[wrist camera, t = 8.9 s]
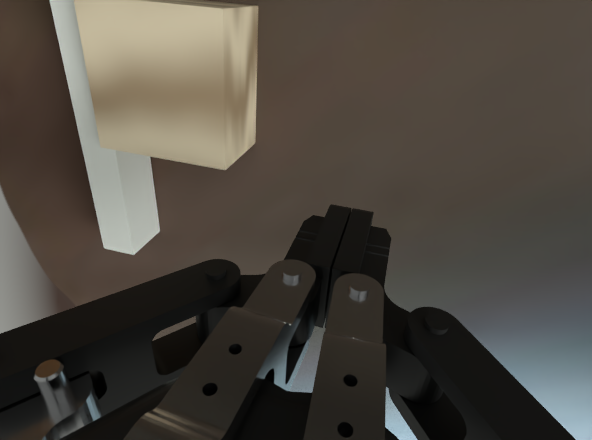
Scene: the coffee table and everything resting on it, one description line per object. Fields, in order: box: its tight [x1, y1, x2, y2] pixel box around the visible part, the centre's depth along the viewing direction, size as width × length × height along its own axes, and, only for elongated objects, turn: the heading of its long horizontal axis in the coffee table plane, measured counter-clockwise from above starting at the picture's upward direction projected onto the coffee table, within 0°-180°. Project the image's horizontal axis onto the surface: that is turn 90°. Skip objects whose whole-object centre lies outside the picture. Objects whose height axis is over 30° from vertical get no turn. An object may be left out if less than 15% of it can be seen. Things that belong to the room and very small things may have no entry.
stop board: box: [50, 0, 160, 255], centre depth 26 cm, size 20×2×4 cm, turn 176°
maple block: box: [74, 0, 258, 170], centre depth 23 cm, size 8×8×5 cm
